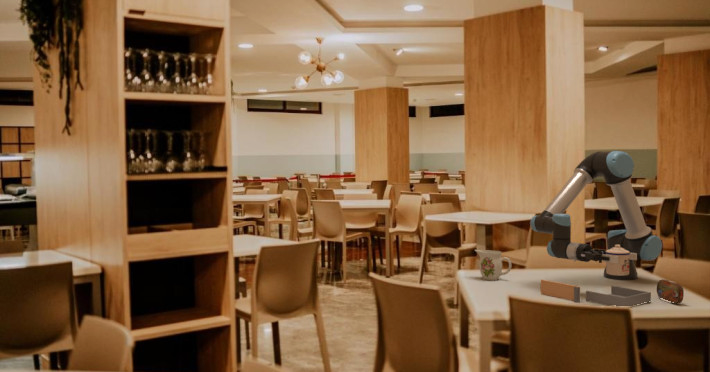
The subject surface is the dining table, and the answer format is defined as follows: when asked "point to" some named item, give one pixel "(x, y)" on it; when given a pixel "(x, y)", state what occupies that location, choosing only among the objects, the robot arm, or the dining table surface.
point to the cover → (557, 289)
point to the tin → (670, 291)
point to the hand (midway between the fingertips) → (627, 258)
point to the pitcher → (492, 264)
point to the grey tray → (615, 296)
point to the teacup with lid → (623, 261)
